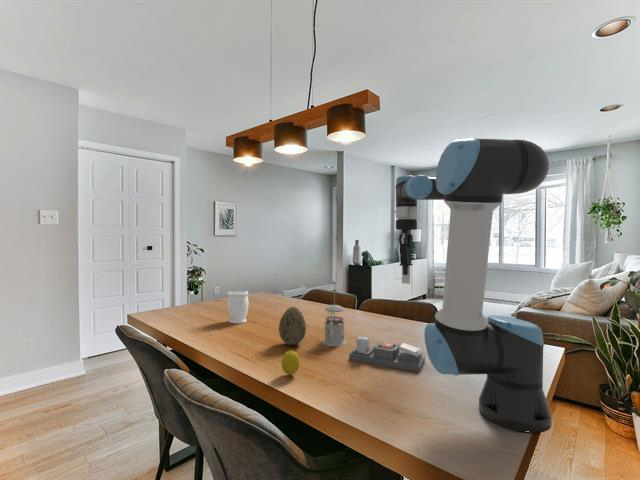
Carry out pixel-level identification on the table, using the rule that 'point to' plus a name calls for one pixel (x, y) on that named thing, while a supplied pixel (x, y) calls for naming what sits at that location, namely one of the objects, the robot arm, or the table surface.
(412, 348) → the rocker switch
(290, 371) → the lemon
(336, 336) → the french press
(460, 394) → the table surface
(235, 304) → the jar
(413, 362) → the panel
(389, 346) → the push button
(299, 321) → the decorative egg
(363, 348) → the slide switch
